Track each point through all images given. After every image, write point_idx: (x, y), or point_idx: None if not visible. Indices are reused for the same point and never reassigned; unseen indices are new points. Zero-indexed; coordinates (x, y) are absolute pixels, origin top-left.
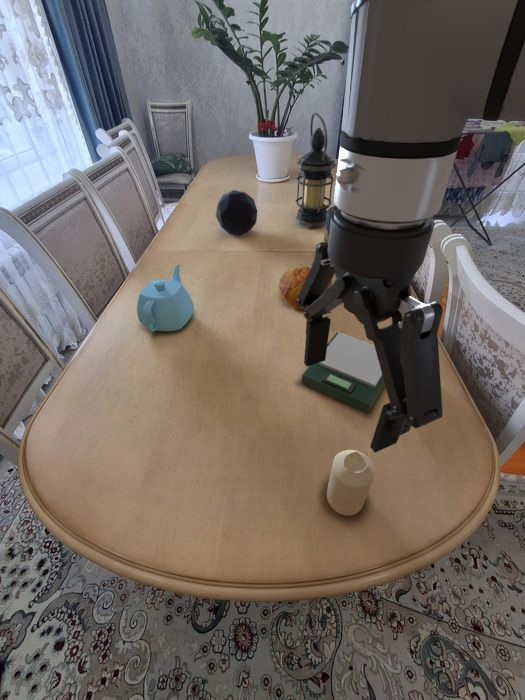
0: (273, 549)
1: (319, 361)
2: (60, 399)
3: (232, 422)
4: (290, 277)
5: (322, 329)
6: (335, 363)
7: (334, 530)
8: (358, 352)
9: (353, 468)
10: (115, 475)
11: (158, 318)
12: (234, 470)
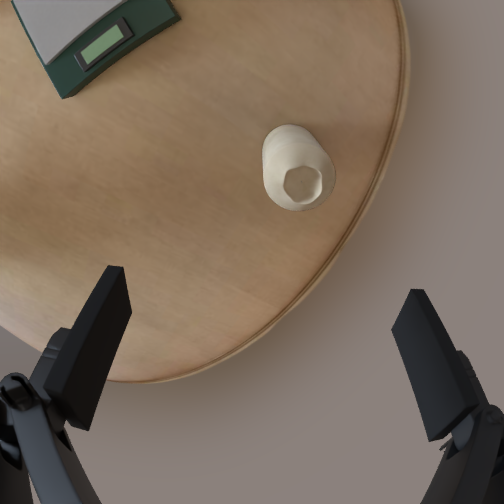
0: (291, 258)
1: (124, 284)
2: None
3: (108, 227)
4: None
5: (82, 382)
6: (64, 32)
7: None
8: None
9: (305, 186)
10: (142, 343)
11: None
12: (180, 254)
